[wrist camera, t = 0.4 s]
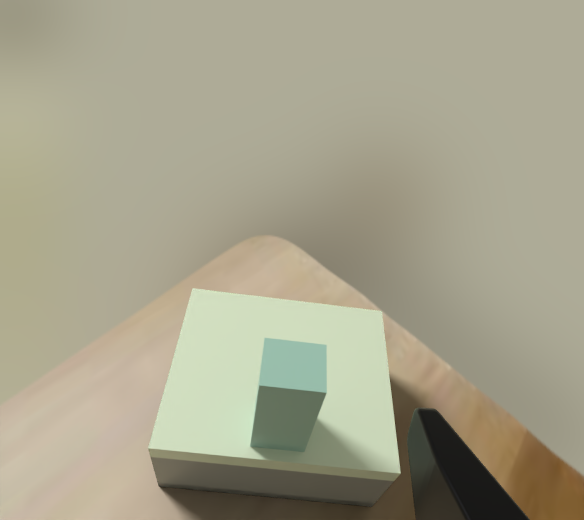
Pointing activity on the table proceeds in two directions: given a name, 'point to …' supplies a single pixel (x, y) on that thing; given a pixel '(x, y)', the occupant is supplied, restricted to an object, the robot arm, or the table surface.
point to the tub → (268, 482)
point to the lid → (279, 388)
